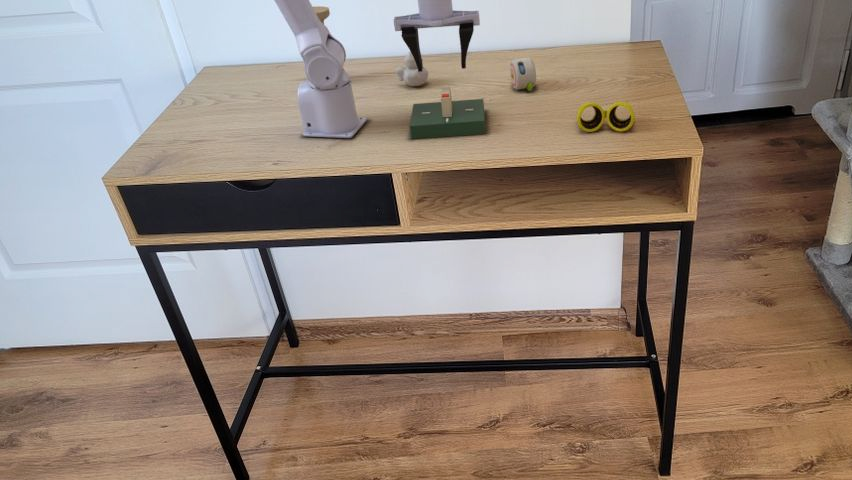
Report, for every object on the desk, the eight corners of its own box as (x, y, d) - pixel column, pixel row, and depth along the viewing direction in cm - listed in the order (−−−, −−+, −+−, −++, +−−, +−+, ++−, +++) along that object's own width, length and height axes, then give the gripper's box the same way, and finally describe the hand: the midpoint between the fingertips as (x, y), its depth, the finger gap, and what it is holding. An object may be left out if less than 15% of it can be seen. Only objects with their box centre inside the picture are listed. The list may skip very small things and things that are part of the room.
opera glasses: (632, 125, 132) (633, 97, 130) (634, 132, 127) (635, 103, 125) (577, 126, 133) (577, 98, 131) (577, 133, 128) (577, 104, 126)
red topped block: (443, 106, 136) (441, 86, 133) (452, 105, 136) (450, 85, 133) (442, 117, 132) (440, 96, 129) (451, 116, 132) (449, 96, 129)
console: (411, 139, 131) (409, 125, 129) (414, 116, 139) (413, 103, 138) (485, 133, 131) (484, 119, 129) (484, 111, 139) (483, 97, 138)
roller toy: (515, 95, 145) (514, 65, 141) (507, 84, 150) (505, 55, 146) (537, 91, 145) (536, 62, 142) (528, 80, 150) (527, 52, 147)
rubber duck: (428, 89, 150) (423, 49, 145) (396, 91, 150) (390, 52, 146) (430, 79, 155) (425, 40, 150) (398, 81, 155) (392, 43, 150)
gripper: (387, -2, 121) (399, 79, 129) (476, -9, 121) (483, 73, 129) (391, -14, 127) (402, 65, 135) (476, -20, 127) (482, 59, 135)
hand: (442, 68), depth 132 cm, fingers open, 7 cm apart
